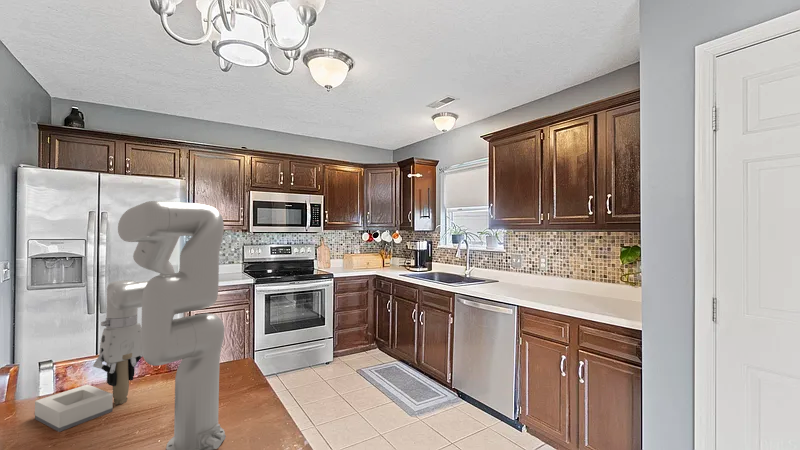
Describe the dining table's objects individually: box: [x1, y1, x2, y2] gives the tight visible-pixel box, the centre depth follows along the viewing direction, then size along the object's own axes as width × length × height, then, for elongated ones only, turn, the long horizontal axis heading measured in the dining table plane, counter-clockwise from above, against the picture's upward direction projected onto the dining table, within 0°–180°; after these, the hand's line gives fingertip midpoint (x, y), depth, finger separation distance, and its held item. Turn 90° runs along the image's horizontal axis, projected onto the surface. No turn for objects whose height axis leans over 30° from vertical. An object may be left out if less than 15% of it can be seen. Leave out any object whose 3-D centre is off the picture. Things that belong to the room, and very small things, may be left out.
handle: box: [112, 353, 132, 405], centre depth 110 cm, size 5×6×15 cm
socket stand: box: [34, 383, 114, 433], centre depth 103 cm, size 14×12×5 cm
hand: (120, 381), depth 110 cm, fingers closed on handle, 3 cm apart
